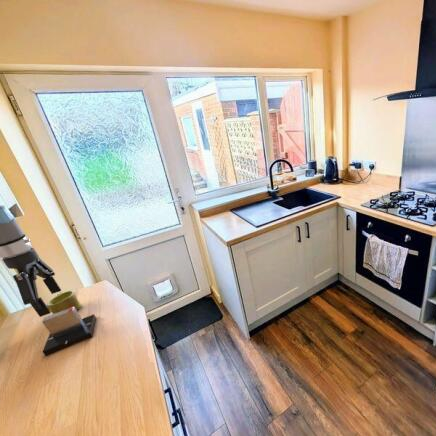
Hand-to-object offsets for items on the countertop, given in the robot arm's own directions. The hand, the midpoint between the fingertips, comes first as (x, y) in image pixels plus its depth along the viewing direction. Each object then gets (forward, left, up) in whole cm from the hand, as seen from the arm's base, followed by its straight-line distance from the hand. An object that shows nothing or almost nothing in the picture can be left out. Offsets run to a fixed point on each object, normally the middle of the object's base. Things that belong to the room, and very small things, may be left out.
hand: (51, 302), depth 88 cm
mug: (-5, +20, -17) cm, 27 cm away
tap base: (0, 0, -17) cm, 17 cm away
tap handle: (0, 0, -14) cm, 14 cm away
